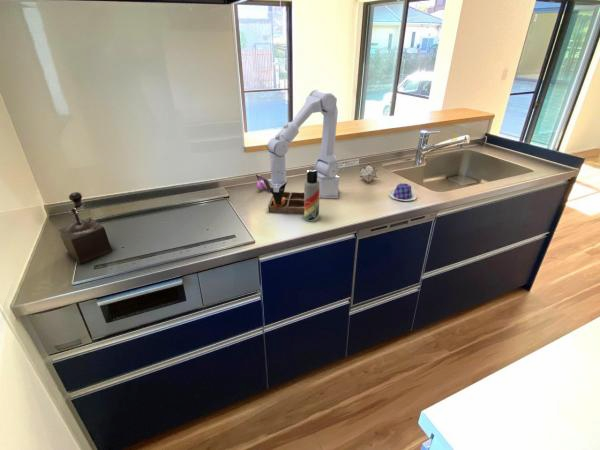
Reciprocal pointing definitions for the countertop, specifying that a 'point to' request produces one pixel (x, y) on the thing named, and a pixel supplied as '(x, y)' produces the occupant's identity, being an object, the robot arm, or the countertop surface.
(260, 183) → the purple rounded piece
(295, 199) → the grid
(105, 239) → the brown coffee grinder
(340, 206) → the countertop surface
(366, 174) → the grey spiky ball
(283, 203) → the token
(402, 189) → the pudding
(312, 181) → the lotion bottle
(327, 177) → the robot arm
